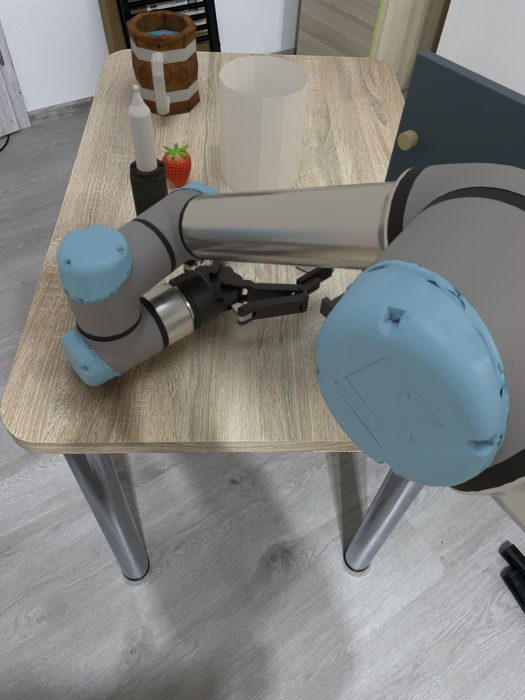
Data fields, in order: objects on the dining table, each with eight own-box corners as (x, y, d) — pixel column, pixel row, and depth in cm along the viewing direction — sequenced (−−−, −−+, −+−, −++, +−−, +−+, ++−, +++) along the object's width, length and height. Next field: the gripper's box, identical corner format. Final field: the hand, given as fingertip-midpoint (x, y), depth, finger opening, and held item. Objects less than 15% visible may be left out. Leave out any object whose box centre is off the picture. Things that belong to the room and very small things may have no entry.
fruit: (181, 197, 95) (177, 156, 89) (158, 187, 97) (152, 146, 90) (199, 182, 98) (196, 141, 92) (176, 172, 100) (172, 132, 93)
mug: (140, 84, 120) (130, 8, 108) (201, 85, 120) (198, 11, 109) (129, 131, 108) (117, 52, 96) (197, 132, 108) (193, 54, 97)
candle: (173, 248, 87) (156, 94, 67) (141, 249, 86) (114, 95, 66) (172, 227, 90) (155, 75, 70) (141, 229, 89) (115, 75, 70)
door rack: (387, 413, 69) (493, 163, 41) (303, 337, 76) (344, 80, 48) (452, 362, 75) (585, 111, 46) (368, 295, 82) (439, 44, 54)
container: (297, 154, 105) (308, 58, 91) (298, 199, 96) (310, 100, 82) (223, 150, 105) (222, 53, 91) (217, 195, 96) (215, 95, 82)
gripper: (134, 275, 80) (246, 220, 89) (239, 384, 68) (354, 308, 77) (126, 235, 74) (246, 180, 83) (239, 347, 62) (364, 270, 71)
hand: (299, 242), depth 80 cm, fingers open, 13 cm apart
